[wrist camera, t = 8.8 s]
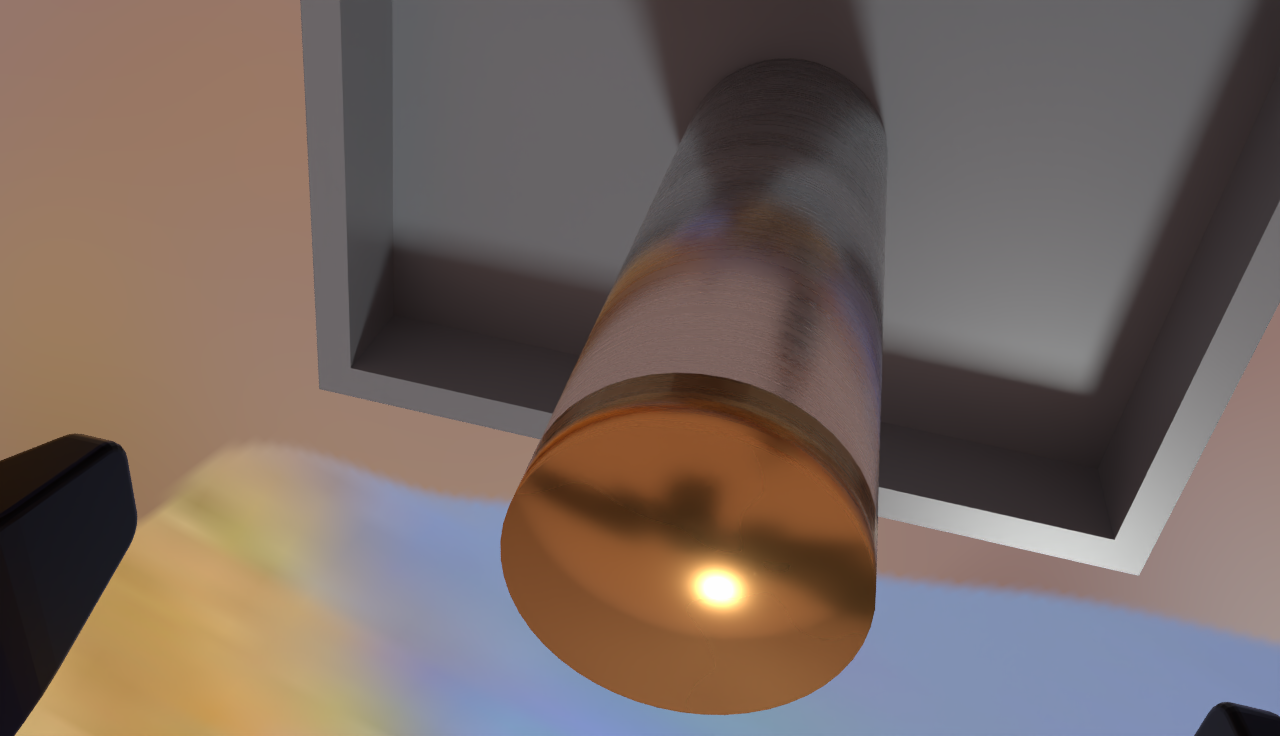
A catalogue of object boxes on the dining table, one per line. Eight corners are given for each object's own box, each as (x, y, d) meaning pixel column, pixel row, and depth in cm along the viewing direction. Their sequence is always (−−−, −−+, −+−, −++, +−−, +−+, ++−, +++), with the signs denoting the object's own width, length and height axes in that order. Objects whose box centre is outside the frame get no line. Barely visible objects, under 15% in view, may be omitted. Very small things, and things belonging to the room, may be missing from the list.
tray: (1395, -117, 14) (1476, -82, 12) (1114, 482, 20) (1138, 575, 18) (368, -281, 16) (287, -274, 14) (376, 319, 21) (319, 388, 19)
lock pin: (910, 79, 16) (921, 478, 8) (861, 267, 18) (828, 748, 10) (701, 40, 17) (510, 388, 9) (672, 229, 18) (492, 667, 10)
